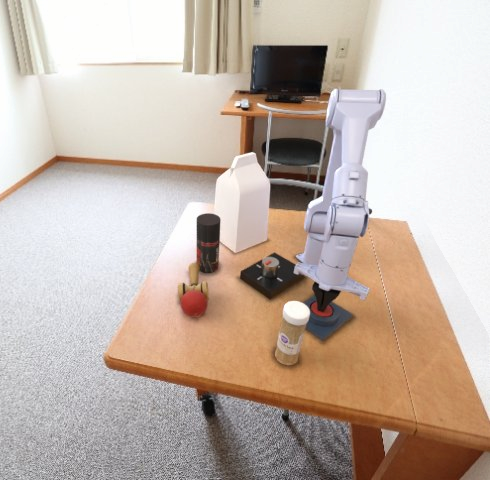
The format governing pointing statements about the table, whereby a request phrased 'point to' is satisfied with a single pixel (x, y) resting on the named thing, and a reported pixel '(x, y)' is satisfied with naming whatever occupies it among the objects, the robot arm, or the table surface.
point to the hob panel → (271, 285)
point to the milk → (243, 203)
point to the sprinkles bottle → (291, 332)
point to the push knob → (326, 313)
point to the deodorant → (208, 242)
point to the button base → (326, 320)
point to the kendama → (193, 293)
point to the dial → (269, 267)
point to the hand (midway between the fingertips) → (321, 308)
